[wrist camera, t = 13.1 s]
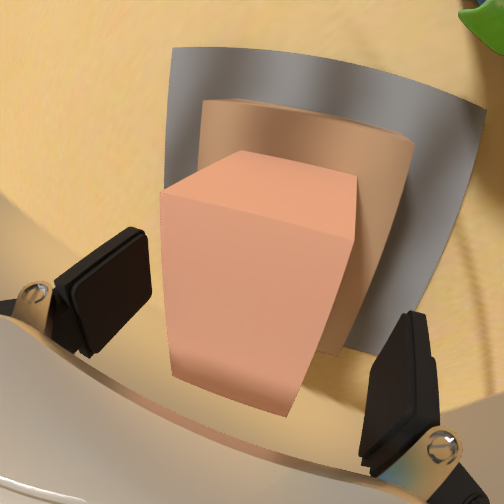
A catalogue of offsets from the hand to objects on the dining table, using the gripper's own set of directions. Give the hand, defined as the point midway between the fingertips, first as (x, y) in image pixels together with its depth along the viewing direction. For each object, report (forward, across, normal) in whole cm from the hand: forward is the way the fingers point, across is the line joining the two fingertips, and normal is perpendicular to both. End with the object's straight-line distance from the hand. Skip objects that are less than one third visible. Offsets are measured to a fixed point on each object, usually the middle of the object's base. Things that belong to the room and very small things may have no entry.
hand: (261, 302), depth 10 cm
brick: (+4, 0, 0) cm, 5 cm away
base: (+10, 0, 0) cm, 10 cm away
